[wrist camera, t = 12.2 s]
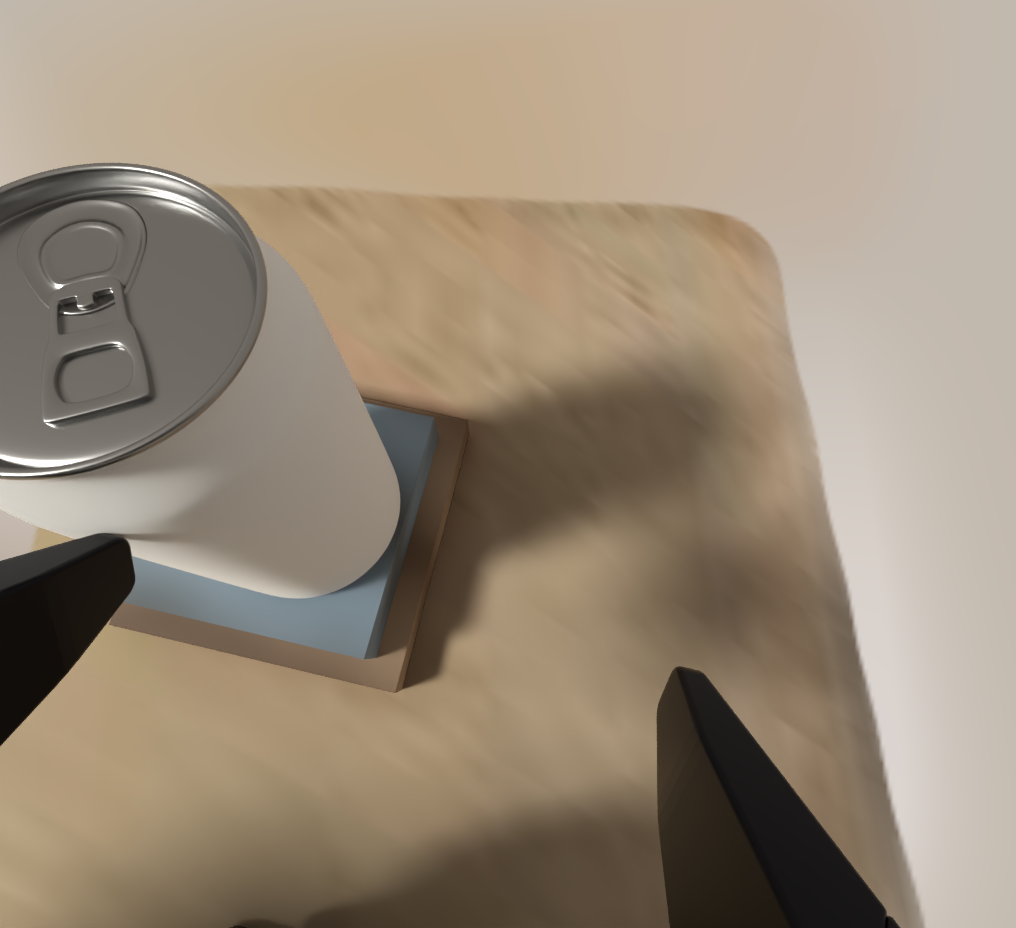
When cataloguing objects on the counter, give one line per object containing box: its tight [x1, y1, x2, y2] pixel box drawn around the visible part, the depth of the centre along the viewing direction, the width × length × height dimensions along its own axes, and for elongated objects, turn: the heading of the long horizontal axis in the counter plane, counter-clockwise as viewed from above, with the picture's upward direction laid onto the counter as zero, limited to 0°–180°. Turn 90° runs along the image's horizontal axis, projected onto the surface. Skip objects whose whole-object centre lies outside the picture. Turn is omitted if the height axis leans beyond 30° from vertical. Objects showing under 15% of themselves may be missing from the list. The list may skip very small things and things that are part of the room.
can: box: [0, 163, 400, 598], centre depth 14 cm, size 6×6×12 cm
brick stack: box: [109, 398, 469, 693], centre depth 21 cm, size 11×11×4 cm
